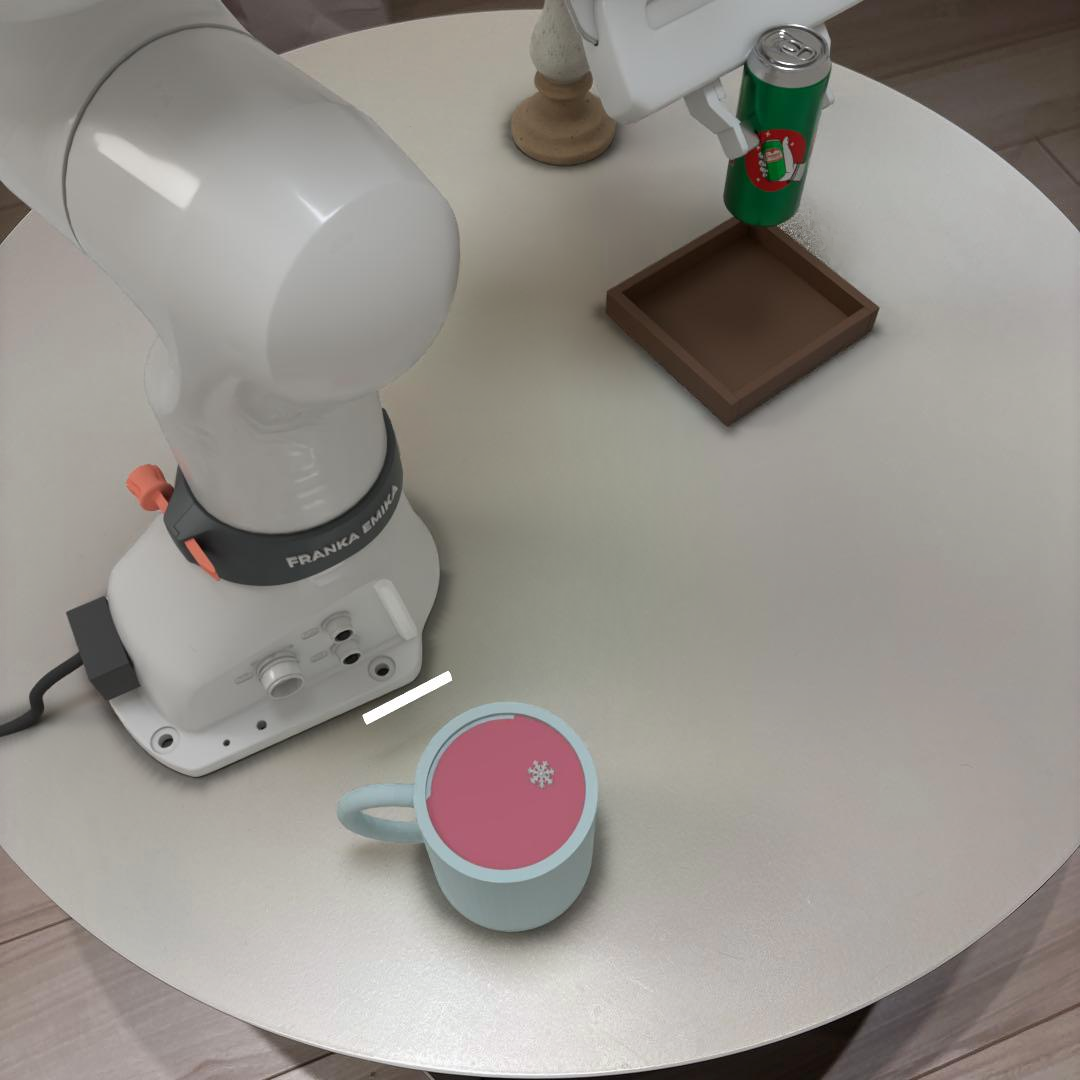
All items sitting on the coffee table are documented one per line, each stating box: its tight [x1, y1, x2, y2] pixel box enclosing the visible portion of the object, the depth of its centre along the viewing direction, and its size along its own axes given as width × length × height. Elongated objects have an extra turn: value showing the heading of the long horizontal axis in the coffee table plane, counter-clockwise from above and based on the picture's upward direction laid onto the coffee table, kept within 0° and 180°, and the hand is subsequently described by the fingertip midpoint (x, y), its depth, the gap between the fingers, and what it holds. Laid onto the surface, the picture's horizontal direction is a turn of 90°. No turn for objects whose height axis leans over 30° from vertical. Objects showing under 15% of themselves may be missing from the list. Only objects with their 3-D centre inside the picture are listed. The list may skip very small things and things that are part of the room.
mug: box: [335, 701, 599, 933], centre depth 61 cm, size 14×9×10 cm
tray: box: [605, 215, 880, 427], centre depth 85 cm, size 15×14×2 cm
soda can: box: [722, 24, 833, 228], centre depth 71 cm, size 5×5×12 cm
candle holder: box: [510, 0, 616, 166], centre depth 88 cm, size 9×9×20 cm
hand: (783, 131), depth 70 cm, fingers closed on soda can, 5 cm apart
